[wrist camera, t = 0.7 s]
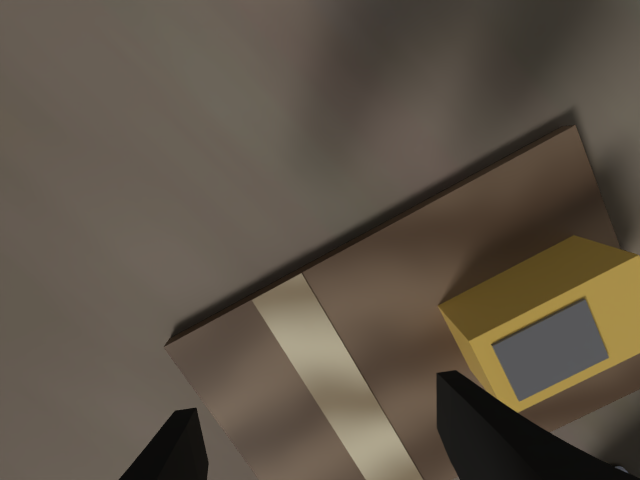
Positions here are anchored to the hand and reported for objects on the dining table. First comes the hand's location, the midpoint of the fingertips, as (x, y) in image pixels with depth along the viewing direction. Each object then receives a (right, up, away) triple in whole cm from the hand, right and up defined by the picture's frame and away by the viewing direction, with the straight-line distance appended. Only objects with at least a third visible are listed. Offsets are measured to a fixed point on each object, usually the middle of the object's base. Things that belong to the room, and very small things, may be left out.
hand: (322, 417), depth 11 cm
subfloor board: (+6, -1, +11) cm, 13 cm away
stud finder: (+11, +2, +10) cm, 15 cm away
